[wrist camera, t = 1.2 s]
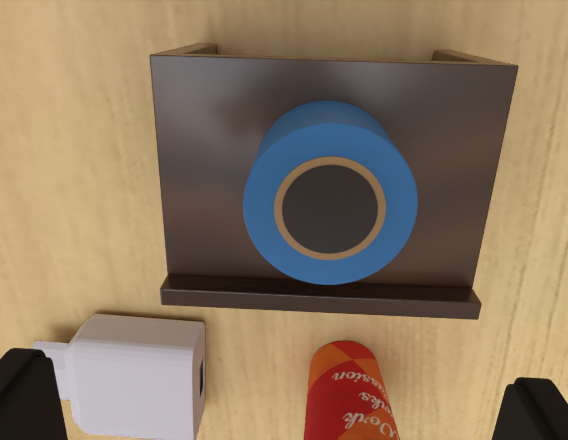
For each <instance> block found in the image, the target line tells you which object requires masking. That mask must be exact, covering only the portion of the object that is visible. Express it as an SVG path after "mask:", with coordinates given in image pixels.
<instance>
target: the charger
mask: <svg viewBox="0 0 568 440" xmlns="http://www.w3.org/2000/svg"><path fill="white" fill-rule="evenodd" d="M33 349H40V350H43V352H44V353H45V355H46V357H49V358H51V359H52V361H53V365H54V370H55V376H56V381H57V386H58V391H59V396H60V399H65V400H70V402H71V409H72V415H73V420H74V422H75V423H76V424H77V425H78V426H79V427H80V428H81V429H82V430H83V431H84V432H85V433H86V434H96V435H108V436H120V437H132V438H144V439H156V440H196V438H197V434H198V431H199V427H200V423H201V419H202V416H203V412H204V405H205V325H204V322H196V321H183V320H171V319H158V318H145V317H132V316H119V315H107V314H94V315H92V316H91V317H90V318H89V319H88V320H87V321H86V322H84V323H83V324H82V326H81V327H80V328H79V330H78V331H77V333H76V334H75V335H74V337H73V338H72V339H71V341H70V342H69V343H58V342H45V341H35V343H34V346H33Z"/></svg>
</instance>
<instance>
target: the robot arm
mask: <svg viewBox="0 0 568 440" xmlns="http://www.w3.org/2000/svg"><path fill="white" fill-rule="evenodd" d="M0 440H68V438H67V433H66V427H65V422H64V417H63V412H62V407H61V402H60V396H59V391H58V386H57V381H56V376H55V370H54V365H53V361H52V359H51V358H49V357H46V355H45V353H44V352H43V350H40V349H24V348H13V349H10V350H9V351H8V352H6V353H5V355H4V356H3V357H2V358H1V359H0ZM492 440H568V404H567V402H566V401H565V399H564V398H563V396H562V395H561V393H560V392H559V390H558V389H557V387H556V386H555V384H554V383H553V382H552V381H551V380H549V379H542V378H525V377H519V378H517V379H516V380H515V382H514V384H508V385H507V387H506V389H505V393H504V396H503V400H502V404H501V407H500V411H499V415H498V418H497V422H496V426H495V429H494V433H493V437H492Z"/></svg>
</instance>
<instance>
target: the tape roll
mask: <svg viewBox="0 0 568 440" xmlns="http://www.w3.org/2000/svg"><path fill="white" fill-rule="evenodd" d="M417 207H418V196H417V188H416V184H415V180H414V177H413V174H412V172H411V169H410V168H409V166H408V164H407V162H406V160H405V159H404V158H403V156H402V155H401V153H400V152H399V150H398V149H397V147H396V146H395V144H394V143H393V141H392V140H391V139H390V137H389V136H388V134H387V133H386V131H385V130H384V129H383V127H382V126H381V125H380V123H379V122H378V121H377V120H376V119H375V118H374V117H372V116H371V115H370V114H368V113H367V112H366V111H364V110H362V109H360V108H358V107H356V106H354V105H351V104H349V103H344V102H340V101H331V100H324V101H315V102H309V103H306V104H303V105H300V106H298V107H296V108H294V109H292V110H290V111H288V112H287V113H285V114H284V115H283V116H281V117H280V118H279V119H278V120H277V121H276V122H275V123H274V124H273V125H272V126H271V127H270V129H269V130H268V132H267V133H266V134H265V136H264V138H263V140H262V142H261V144H260V147H259V150H258V153H257V155H256V158H255V161H254V163H253V166H252V169H251V171H250V174H249V177H248V180H247V183H246V186H245V191H244V197H243V213H244V219H245V224H246V228H247V230H248V233H249V236H250V238H251V240H252V241H253V243H254V245H255V247H256V248H257V249H258V251H259V252H260V254H261V255H262V256H263V257H264V258H265V259H266V260H267V261H268V262H269V263H270V264H272V265H273V266H274V267H275V268H277V269H278V270H280V271H281V272H283V273H284V274H287V275H289V276H291V277H293V278H295V279H298V280H301V281H304V282H309V283H313V284H322V285H336V284H344V283H349V282H353V281H357V280H360V279H362V278H365V277H367V276H369V275H371V274H373V273H375V272H377V271H378V270H380V269H381V268H383V267H384V266H386V265H387V264H388V263H389V262H390V261H391V260H393V259H394V257H395V256H396V255H397V254H398V253H399V252H400V251H401V249H402V248H403V246H404V245H405V244H406V242H407V240H408V238H409V236H410V234H411V232H412V230H413V227H414V224H415V220H416V216H417Z"/></svg>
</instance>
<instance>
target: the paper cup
mask: <svg viewBox="0 0 568 440" xmlns="http://www.w3.org/2000/svg"><path fill="white" fill-rule="evenodd" d="M304 440H400V438H399V434H398V431H397V428H396V424H395V421H394V417H393V414H392V410H391V407H390V404H389V400H388V397H387V393H386V390H385V387H384V383H383V380H382V377H381V374H380V370H379V367H378V365H377V362H376V359H375V357H374V356H373V354H372V353H371V352H370V350H368V349H367V348H366V347H365V346H363V345H361V344H359V343H356V342H352V341H336V342H332V343H329V344H327V345H325V346H323V347H322V348H321V349H319V350H318V351H317V352H316V354H315V355H314V357H313V359H312V362H311V366H310V372H309V382H308V393H307V405H306V418H305V431H304Z"/></svg>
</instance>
